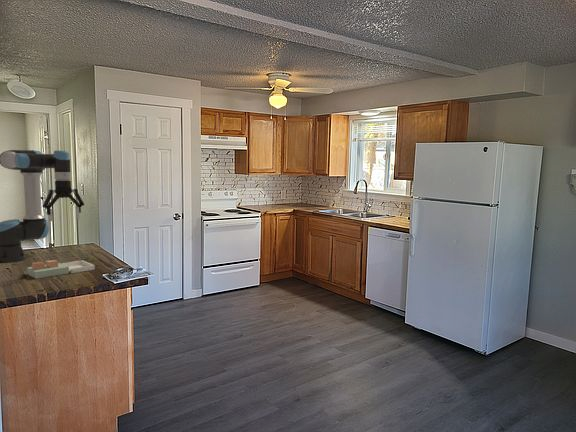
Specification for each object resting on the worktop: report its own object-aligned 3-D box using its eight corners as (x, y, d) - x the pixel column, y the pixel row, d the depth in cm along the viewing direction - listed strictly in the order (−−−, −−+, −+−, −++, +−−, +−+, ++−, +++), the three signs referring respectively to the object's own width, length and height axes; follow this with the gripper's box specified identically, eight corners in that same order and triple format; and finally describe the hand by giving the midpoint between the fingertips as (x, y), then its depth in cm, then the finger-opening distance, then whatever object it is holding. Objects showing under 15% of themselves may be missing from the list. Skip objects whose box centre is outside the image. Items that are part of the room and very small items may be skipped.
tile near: (32, 268, 225) (32, 262, 224) (41, 267, 228) (41, 261, 228) (35, 270, 222) (35, 264, 221) (44, 268, 225) (44, 262, 225)
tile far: (45, 266, 229) (45, 260, 229) (55, 265, 233) (54, 259, 232) (49, 268, 226) (48, 262, 226) (58, 266, 230) (58, 261, 229)
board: (27, 273, 227) (26, 267, 227) (59, 268, 239) (59, 262, 238) (36, 278, 218) (35, 272, 218) (69, 273, 230) (68, 266, 230)
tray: (59, 268, 240) (59, 263, 240) (82, 264, 249) (82, 260, 249) (71, 273, 229) (70, 269, 229) (94, 269, 239) (94, 265, 238)
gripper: (39, 180, 217) (41, 222, 220) (89, 179, 236) (91, 218, 238) (34, 180, 222) (36, 221, 225) (83, 179, 241) (85, 217, 243)
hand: (64, 220), depth 232 cm, fingers open, 13 cm apart
